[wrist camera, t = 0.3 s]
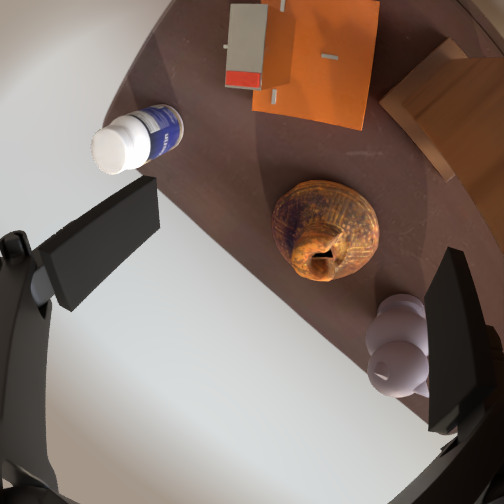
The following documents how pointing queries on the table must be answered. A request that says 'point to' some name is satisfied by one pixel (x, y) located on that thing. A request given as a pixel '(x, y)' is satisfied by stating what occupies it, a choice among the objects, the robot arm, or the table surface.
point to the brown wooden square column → (458, 123)
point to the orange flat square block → (326, 62)
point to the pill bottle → (137, 138)
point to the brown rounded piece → (325, 229)
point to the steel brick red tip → (259, 47)
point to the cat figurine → (399, 347)
